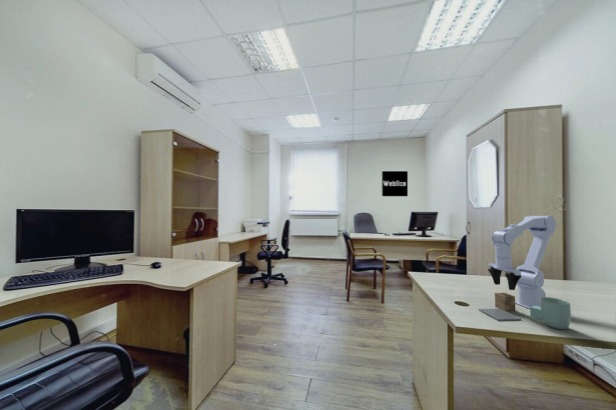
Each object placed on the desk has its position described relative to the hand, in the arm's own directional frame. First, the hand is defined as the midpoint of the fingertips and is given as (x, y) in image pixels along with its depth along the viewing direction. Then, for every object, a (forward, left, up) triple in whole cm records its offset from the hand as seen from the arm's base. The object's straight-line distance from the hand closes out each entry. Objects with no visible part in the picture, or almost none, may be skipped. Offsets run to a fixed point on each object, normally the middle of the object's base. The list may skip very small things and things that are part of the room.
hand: (504, 287), depth 106 cm
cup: (-4, +17, -10) cm, 20 cm away
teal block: (-6, +9, -10) cm, 15 cm away
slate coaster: (+9, +6, -10) cm, 14 cm away
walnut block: (0, 0, -10) cm, 10 cm away
